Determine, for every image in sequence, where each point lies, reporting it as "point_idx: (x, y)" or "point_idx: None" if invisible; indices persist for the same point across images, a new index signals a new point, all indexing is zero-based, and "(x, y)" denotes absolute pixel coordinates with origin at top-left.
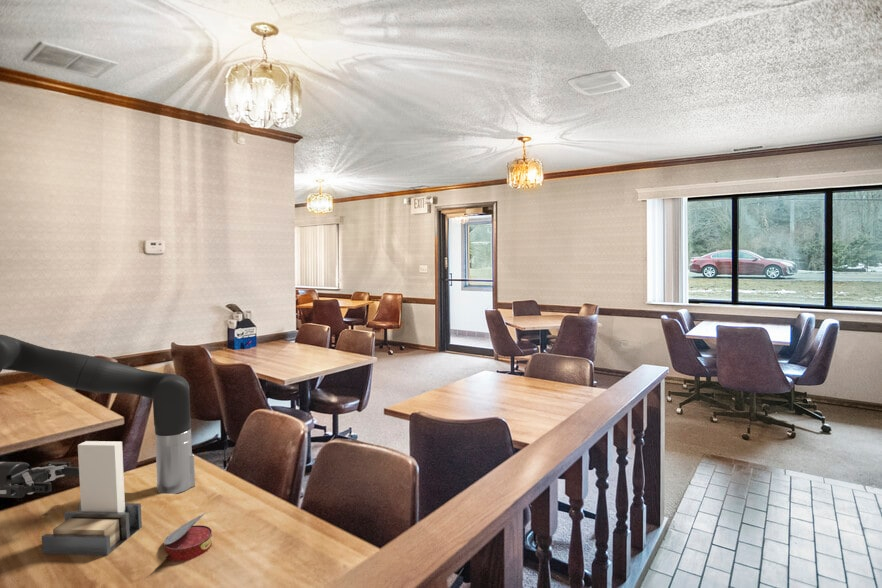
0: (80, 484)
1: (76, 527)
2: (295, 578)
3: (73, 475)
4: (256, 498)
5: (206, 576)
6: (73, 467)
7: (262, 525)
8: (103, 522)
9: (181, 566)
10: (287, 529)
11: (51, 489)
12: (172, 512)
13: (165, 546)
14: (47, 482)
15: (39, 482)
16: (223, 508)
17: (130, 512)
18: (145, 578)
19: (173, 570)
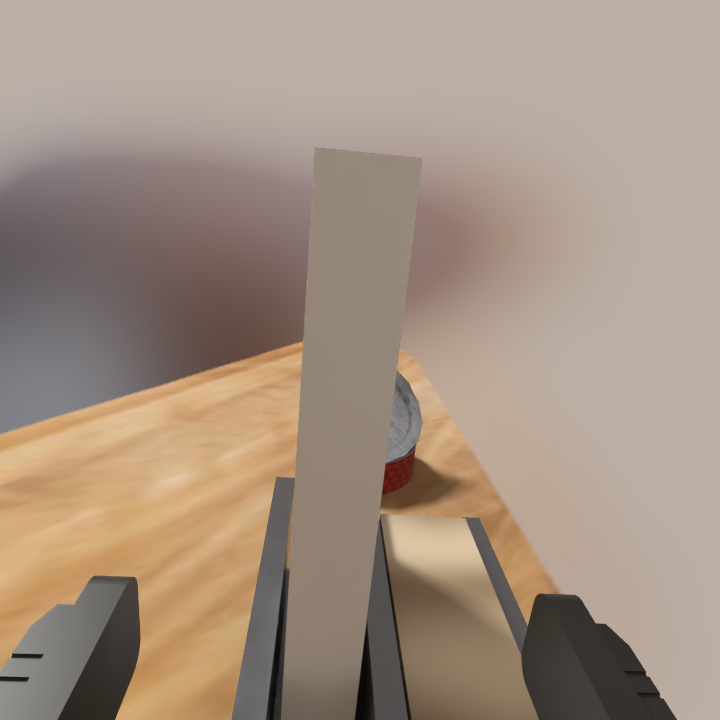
0: (377, 508)
1: (487, 625)
2: (414, 364)
3: (111, 711)
4: (95, 420)
5: (443, 423)
6: (88, 627)
7: (256, 398)
8: (415, 546)
9: (427, 455)
10: (276, 377)
11: (526, 648)
12: (105, 565)
13: (406, 457)
14: (565, 611)
15: (619, 714)
16: (135, 458)
17: (290, 528)
18: (488, 489)
19: (444, 461)
